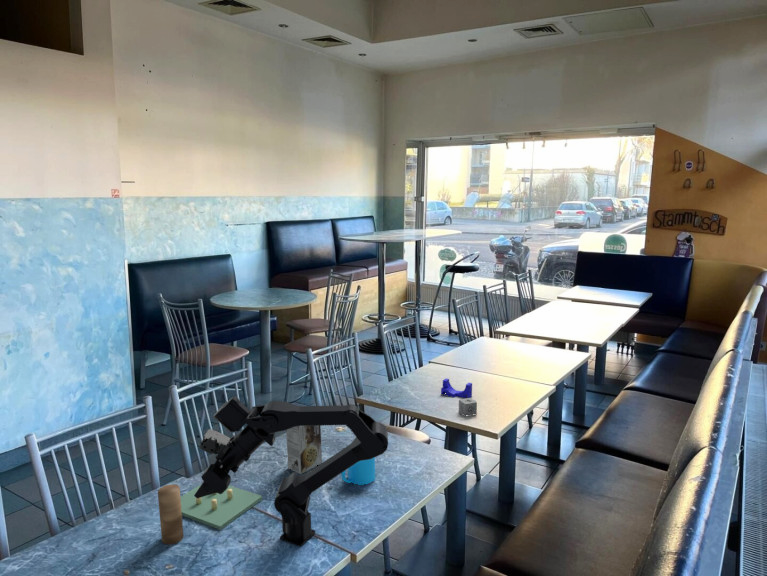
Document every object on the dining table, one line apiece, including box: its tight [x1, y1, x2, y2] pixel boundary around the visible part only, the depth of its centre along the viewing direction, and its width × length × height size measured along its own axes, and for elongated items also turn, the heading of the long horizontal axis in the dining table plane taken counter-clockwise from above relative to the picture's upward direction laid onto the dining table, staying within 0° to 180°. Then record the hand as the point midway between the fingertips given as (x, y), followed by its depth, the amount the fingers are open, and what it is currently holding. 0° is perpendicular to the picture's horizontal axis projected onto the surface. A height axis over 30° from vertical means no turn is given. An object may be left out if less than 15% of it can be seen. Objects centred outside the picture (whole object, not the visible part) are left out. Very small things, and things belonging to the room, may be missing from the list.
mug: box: [340, 457, 376, 486], centre depth 162 cm, size 12×8×8 cm
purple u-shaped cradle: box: [440, 378, 473, 399], centre depth 230 cm, size 12×4×6 cm, turn 58°
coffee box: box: [285, 426, 323, 475], centre depth 170 cm, size 9×6×16 cm
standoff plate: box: [180, 484, 263, 531], centre depth 151 cm, size 20×16×4 cm
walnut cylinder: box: [157, 483, 184, 546], centre depth 135 cm, size 5×5×13 cm
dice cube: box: [458, 397, 478, 417], centre depth 212 cm, size 5×5×5 cm
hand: (201, 486), depth 134 cm, fingers open, 9 cm apart
